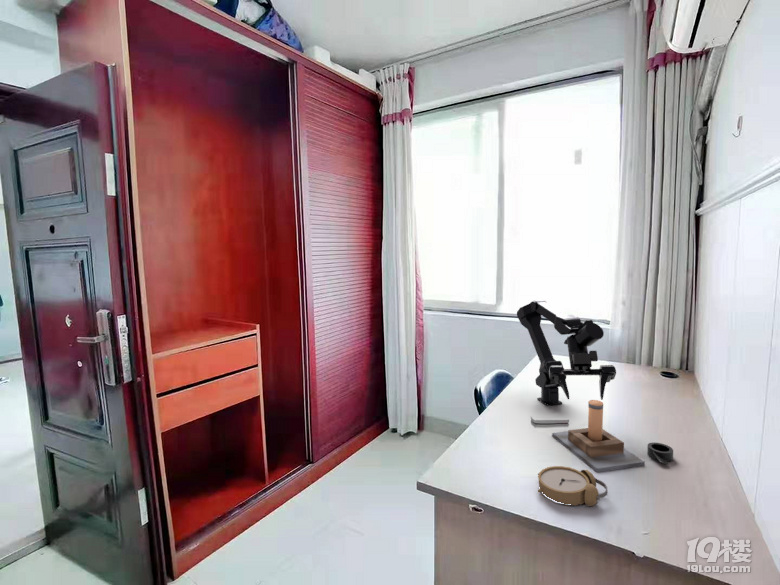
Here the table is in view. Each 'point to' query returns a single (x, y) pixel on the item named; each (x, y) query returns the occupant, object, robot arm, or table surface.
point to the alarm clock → (570, 485)
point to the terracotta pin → (595, 420)
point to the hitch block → (598, 450)
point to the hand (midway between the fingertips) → (585, 399)
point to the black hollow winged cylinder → (660, 452)
